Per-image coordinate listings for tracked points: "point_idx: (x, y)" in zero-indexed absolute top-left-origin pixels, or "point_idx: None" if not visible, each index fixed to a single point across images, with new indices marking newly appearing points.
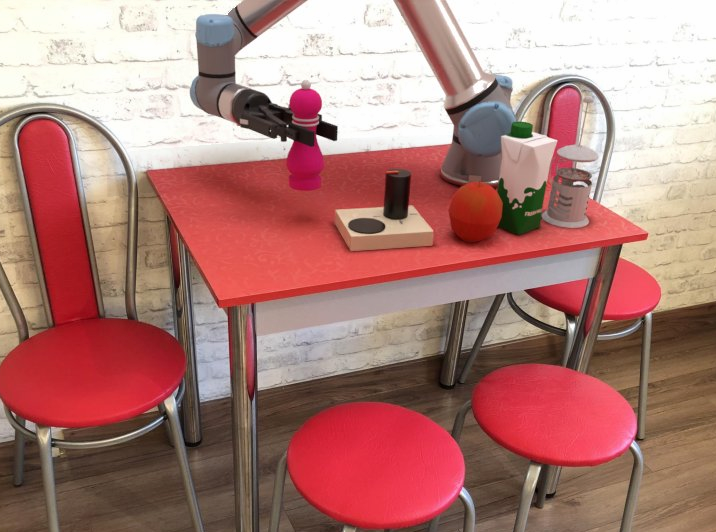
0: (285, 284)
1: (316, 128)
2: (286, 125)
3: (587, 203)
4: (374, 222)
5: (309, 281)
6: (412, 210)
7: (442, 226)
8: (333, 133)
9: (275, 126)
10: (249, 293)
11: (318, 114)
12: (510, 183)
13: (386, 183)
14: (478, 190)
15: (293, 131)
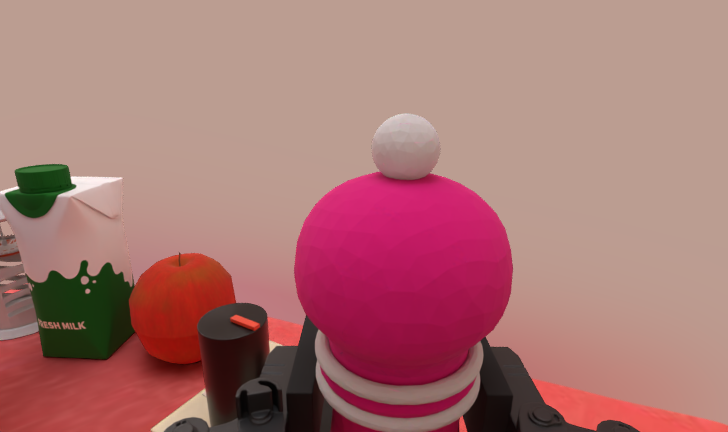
0: (605, 407)
1: (318, 399)
2: (523, 410)
3: (21, 277)
4: (323, 407)
5: (554, 393)
6: (187, 410)
7: (164, 399)
8: None
9: (611, 425)
10: (688, 419)
11: (189, 429)
12: (122, 257)
13: (262, 349)
14: (205, 256)
15: (513, 354)
